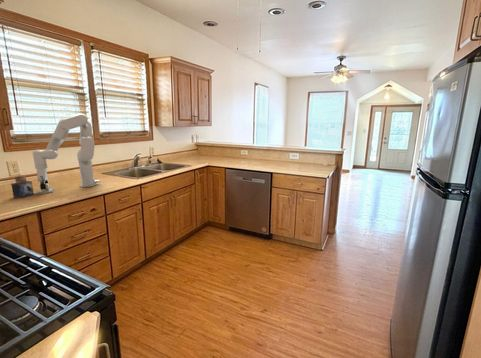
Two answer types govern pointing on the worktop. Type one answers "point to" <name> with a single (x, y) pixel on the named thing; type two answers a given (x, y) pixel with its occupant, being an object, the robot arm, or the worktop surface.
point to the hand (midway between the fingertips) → (45, 187)
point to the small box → (22, 189)
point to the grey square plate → (45, 191)
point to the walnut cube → (20, 179)
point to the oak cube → (46, 187)
